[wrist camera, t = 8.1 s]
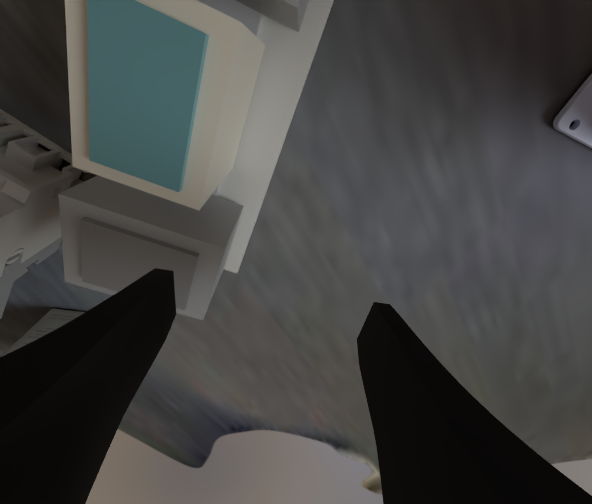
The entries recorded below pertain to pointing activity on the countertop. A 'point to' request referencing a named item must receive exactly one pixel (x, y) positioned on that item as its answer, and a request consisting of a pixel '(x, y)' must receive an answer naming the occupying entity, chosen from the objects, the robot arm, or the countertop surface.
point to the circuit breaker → (29, 199)
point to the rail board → (225, 199)
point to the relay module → (158, 93)
